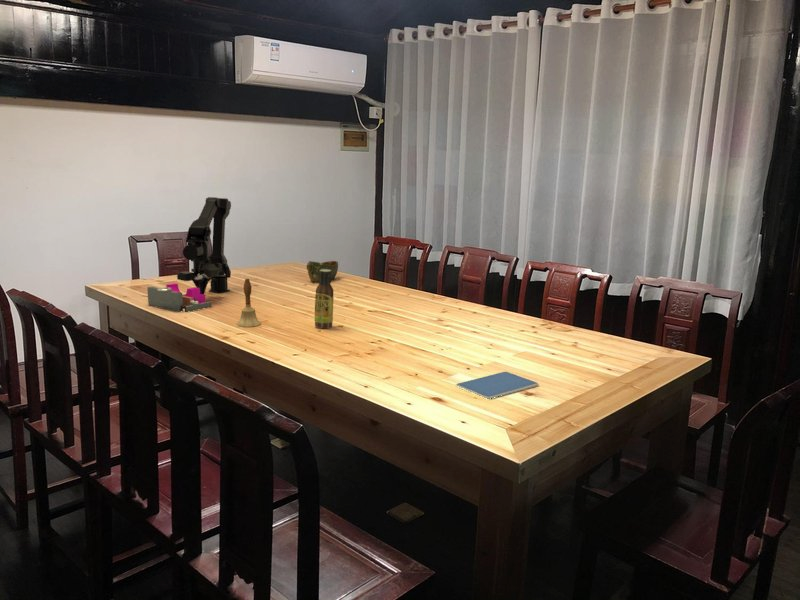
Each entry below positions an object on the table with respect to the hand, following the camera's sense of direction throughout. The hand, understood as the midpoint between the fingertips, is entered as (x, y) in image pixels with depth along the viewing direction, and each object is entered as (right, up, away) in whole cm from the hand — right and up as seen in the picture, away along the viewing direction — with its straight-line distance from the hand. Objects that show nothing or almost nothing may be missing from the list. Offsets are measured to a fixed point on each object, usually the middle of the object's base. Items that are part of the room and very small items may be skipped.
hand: (202, 295), depth 258 cm
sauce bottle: (+52, -11, -34) cm, 63 cm away
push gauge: (-7, -4, -9) cm, 12 cm away
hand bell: (+26, -11, -33) cm, 43 cm away
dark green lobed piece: (+41, +7, +52) cm, 67 cm away
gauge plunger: (-5, -4, -10) cm, 12 cm away
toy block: (-4, -4, -6) cm, 8 cm away
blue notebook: (+104, -25, -87) cm, 138 cm away
